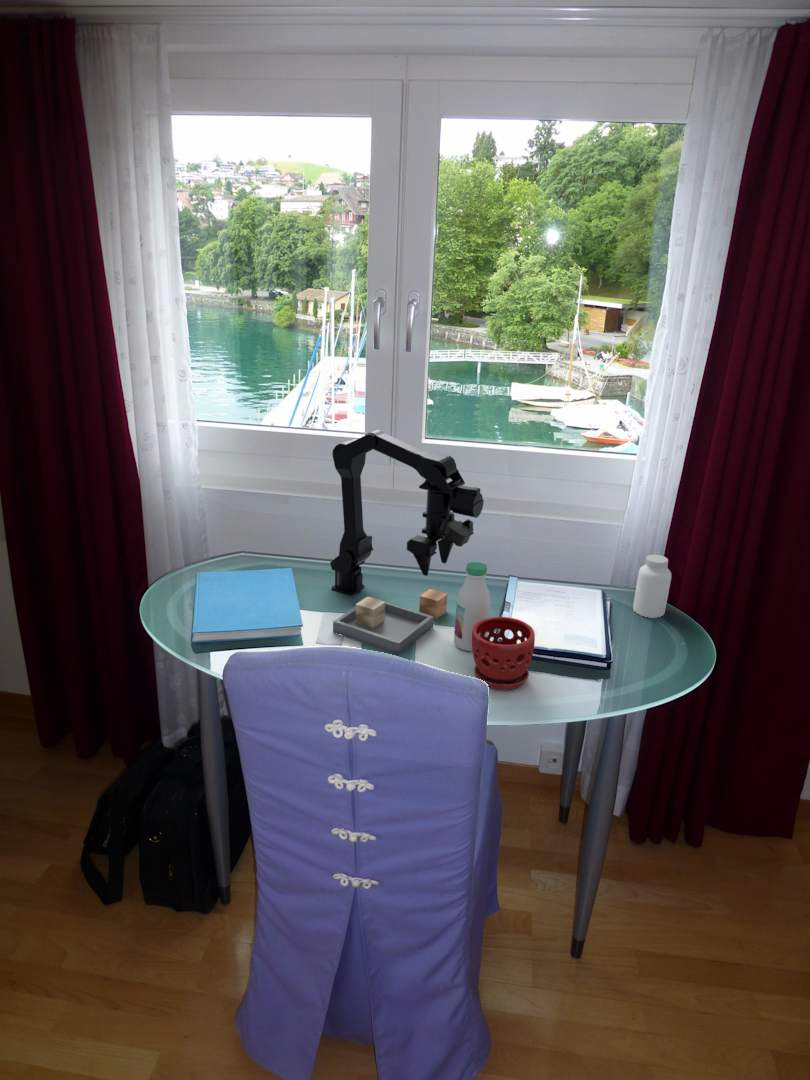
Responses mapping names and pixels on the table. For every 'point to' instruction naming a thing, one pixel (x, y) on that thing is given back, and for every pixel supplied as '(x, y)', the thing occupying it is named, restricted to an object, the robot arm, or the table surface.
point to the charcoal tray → (387, 628)
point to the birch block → (370, 612)
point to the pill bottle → (652, 587)
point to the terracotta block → (433, 603)
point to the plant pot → (502, 652)
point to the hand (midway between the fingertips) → (434, 569)
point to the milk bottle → (471, 605)
